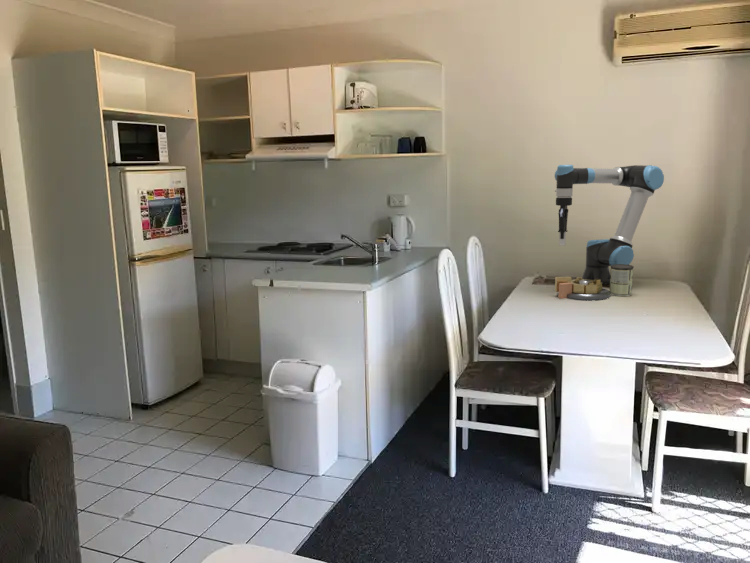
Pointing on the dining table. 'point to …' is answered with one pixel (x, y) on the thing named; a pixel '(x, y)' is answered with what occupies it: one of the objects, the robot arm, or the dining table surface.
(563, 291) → the block
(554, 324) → the dining table surface
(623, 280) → the coffee can
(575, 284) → the gold octagonal ring
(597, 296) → the plate
